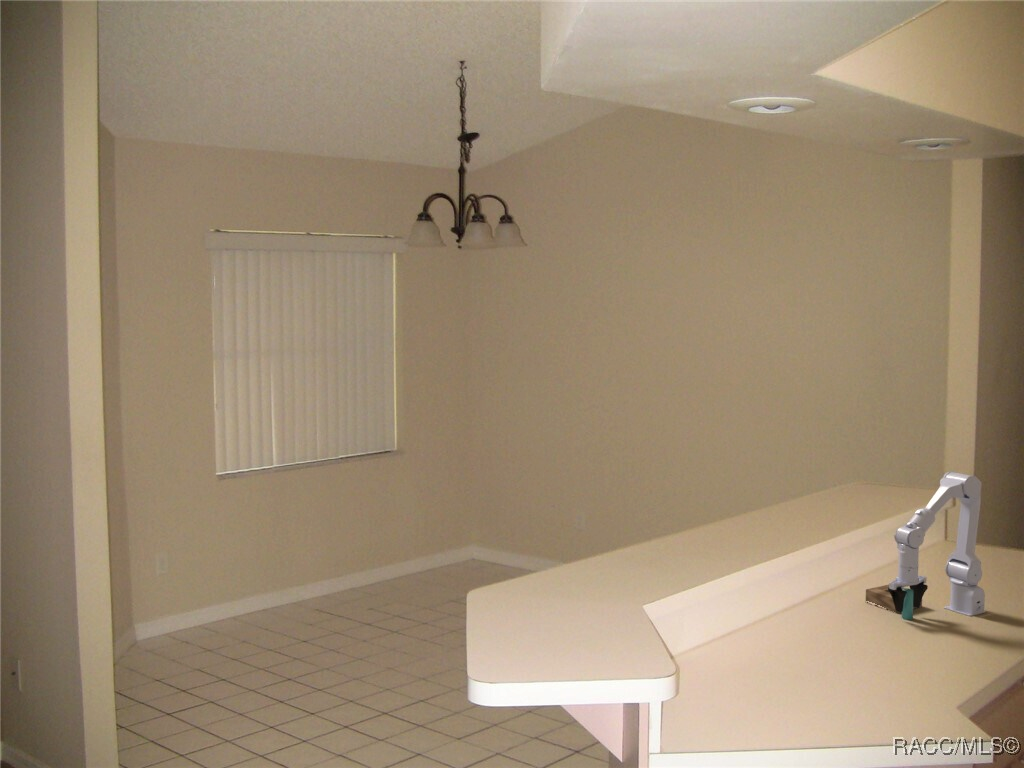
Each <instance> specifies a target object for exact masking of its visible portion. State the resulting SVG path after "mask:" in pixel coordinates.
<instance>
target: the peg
mask: <svg viewBox="0 0 1024 768" xmlns="http://www.w3.org/2000/svg"><path fill="white" fill-rule="evenodd" d="M903 588H904V589H902V590H904V591H907V593H906V595H905V598H904V605H903V611H902V612H901V619H902V618H903V619H902V620H905V621H911V620H913V619H914V609H913V590H912V589H910V588H907V587H903Z"/></svg>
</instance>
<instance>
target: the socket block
mask: <svg viewBox="0 0 1024 768" xmlns="http://www.w3.org/2000/svg"><path fill="white" fill-rule="evenodd" d="M888 587H889V584H885V585H880V586H876V587H871V588H867V589H865V602H866V601H869V602H872V603H875V604H877V605H880V606H882V607H884V608H886V609H888V610H891V611H894V612H896V613H895V614H898V613H897V612H899V613H901V612H900V611H897V610H895V606H894V602H893V599H892V596H891V594H890V592H889V591H888ZM904 588H905V587H902V588H901V589H904ZM919 607H920V608H922V607H923V599H922V600H921V603H920V606H919ZM914 608H916V609H918V608H917V607H914V606H913V610H915V609H914ZM888 610H887V611H888ZM891 611H890V612H891ZM894 612H893V613H894Z"/></svg>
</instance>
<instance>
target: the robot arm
mask: <svg viewBox="0 0 1024 768" xmlns="http://www.w3.org/2000/svg"><path fill="white" fill-rule="evenodd" d="M939 485H940V486H939V487H938V489H937V490H936V492H935V493H934V494H933V496H932V497H931V499H930V500H929V502H928V503H927V505H926V506H925V507H923V508H919V509H917V510H916V511H915V512H914V514H913V516H912V517H911V518H910V519H909V520H908V522H907V523H906V524H905V525H903V526H900V527H899V528H898V529H897V530H896V532H895V534H894V541H895V542H896V545H897V546H896V547H897V549H898V556H897V557H898V561H897V563H898V564H897V565H898V568H897V569H898V570H897V576H895V580H893V581H889V582H888V585H889V587H888V591H889V592H890V594H891V596H892V599H893V602H894V606H895V610H897V611H900V612H899V613H902V611H903V605H904V598H905V595H906V593H907V591H904V590H902V589H901V588H902V587H903V588H907V587H909V589H912V590H913V606H914V607H917V608H916V609H920V608H919V606H920V603H921V600H922V601H923V596H924V595H925V593H926V591H927V590H928V588H929V587H928V585H927V577H926V576H924V575H919V556H920V555H919V554H920V553H919V552H920V551H919V548H920V547H921V546H923V543H924V540H925V536H926V533H927V532H928V530H929V529H930V528H931V527H932V525H934V523H935V522H936V514H937V513H939V512H940V511H941V509H943V507H944V506H945V505H946V504H948V502H949V501H950V500H952V499H957V500H959V502H960V509H959V510H960V511H959V516H958V517H959V519H958V527H957V537H956V545H955V550H954V551H952V553H950V554H949V555H948V558H947V562H946V563H945V569H944V571H945V574H946V576H947V577H948V580H949V581H950V597H949V598H950V599H949V600H950V602H949V605H946V606H945V605H944V606H943V608H944V609H946V610H949V611H953V612H955V613H959V614H961V615H964V616H968V617H972V616H973V617H974V616H976V615H980V614H981V615H982V614H983V613H984V614H985V613H987V611H986V610H985V597H986V595H985V590H984V589H983V587H981V586H978V584H979V583H980V582H981V580H982V578H983V569H982V561H981V559H980V558H979V557H978V556H977V554H975V553H976V543H977V536H978V526H979V520H980V519H979V518H980V511H981V501H982V497H981V493H982V492H981V491H982V485H983V483H982V482H981V481H980V479H979V478H978V477H977V476H975V475H969V474H965V473H958V472H955V471H947V472H945V473H944V475H943V476H942V478H940V481H939Z"/></svg>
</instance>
